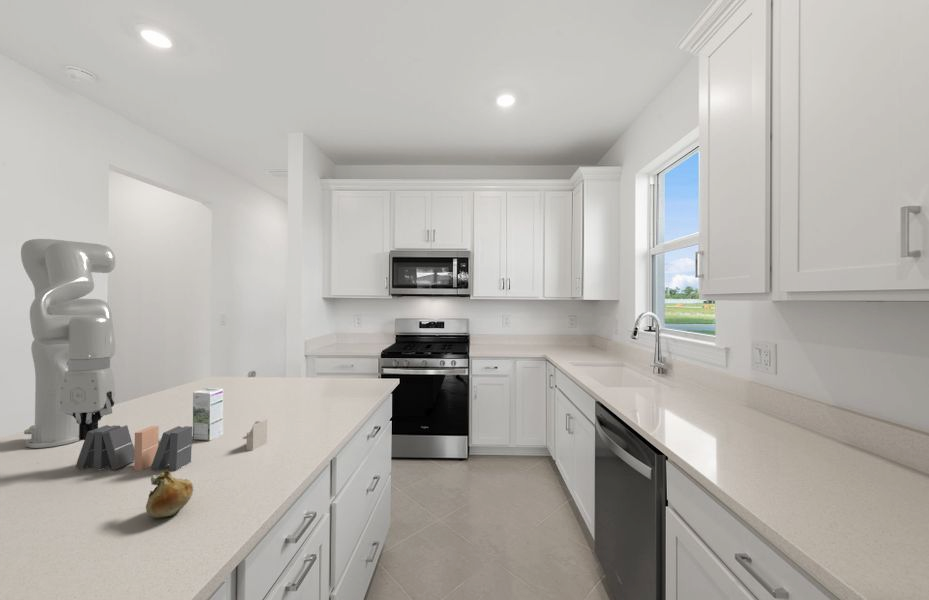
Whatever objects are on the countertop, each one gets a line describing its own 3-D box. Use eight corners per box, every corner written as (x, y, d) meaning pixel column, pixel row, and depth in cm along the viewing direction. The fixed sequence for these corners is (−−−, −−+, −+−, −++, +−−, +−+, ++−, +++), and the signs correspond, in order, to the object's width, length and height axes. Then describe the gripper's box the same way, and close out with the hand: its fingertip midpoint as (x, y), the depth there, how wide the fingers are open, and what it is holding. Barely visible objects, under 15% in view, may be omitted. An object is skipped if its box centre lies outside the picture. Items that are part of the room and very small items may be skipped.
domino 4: (134, 470, 93) (134, 432, 93) (150, 461, 98) (151, 426, 98) (141, 470, 93) (142, 432, 93) (158, 461, 98) (158, 426, 98)
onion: (136, 529, 69) (137, 485, 69) (152, 507, 76) (152, 467, 76) (186, 520, 72) (187, 478, 72) (197, 500, 79) (197, 462, 79)
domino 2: (93, 469, 93) (94, 432, 93) (112, 461, 98) (113, 425, 98) (100, 469, 93) (102, 432, 93) (119, 461, 98) (120, 425, 98)
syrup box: (223, 434, 118) (224, 387, 118) (209, 441, 112) (210, 392, 112) (206, 433, 118) (207, 387, 119) (191, 440, 113) (192, 391, 113)
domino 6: (168, 470, 93) (170, 433, 93) (183, 462, 98) (185, 426, 98) (176, 470, 93) (177, 433, 93) (190, 462, 98) (192, 426, 98)
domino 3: (112, 470, 93) (101, 433, 93) (130, 461, 98) (120, 427, 98) (119, 468, 93) (108, 431, 93) (137, 459, 98) (127, 425, 98)
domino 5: (150, 468, 93) (163, 432, 93) (166, 459, 98) (178, 426, 98) (157, 470, 93) (170, 435, 93) (173, 462, 98) (185, 428, 98)
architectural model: (241, 451, 106) (242, 424, 106) (259, 442, 113) (259, 417, 113) (252, 452, 106) (252, 425, 106) (269, 443, 113) (270, 418, 113)
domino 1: (75, 467, 93) (87, 431, 93) (95, 458, 98) (106, 425, 98) (82, 469, 93) (94, 434, 93) (101, 461, 98) (113, 427, 98)
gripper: (43, 367, 92) (42, 443, 91) (105, 367, 91) (103, 444, 91) (75, 362, 99) (74, 433, 99) (132, 362, 99) (131, 433, 99)
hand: (88, 438), depth 95 cm, fingers closed
